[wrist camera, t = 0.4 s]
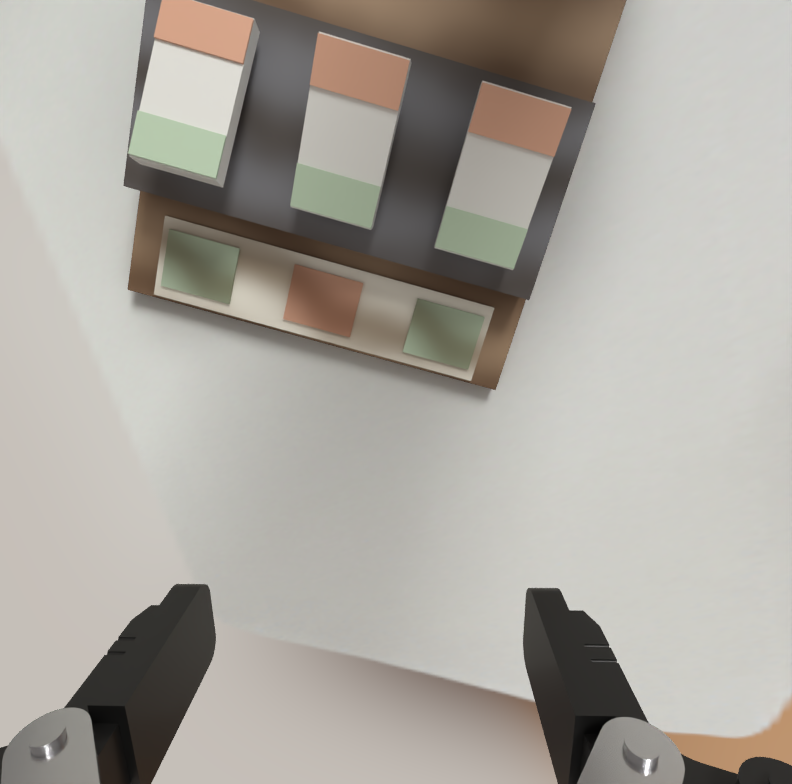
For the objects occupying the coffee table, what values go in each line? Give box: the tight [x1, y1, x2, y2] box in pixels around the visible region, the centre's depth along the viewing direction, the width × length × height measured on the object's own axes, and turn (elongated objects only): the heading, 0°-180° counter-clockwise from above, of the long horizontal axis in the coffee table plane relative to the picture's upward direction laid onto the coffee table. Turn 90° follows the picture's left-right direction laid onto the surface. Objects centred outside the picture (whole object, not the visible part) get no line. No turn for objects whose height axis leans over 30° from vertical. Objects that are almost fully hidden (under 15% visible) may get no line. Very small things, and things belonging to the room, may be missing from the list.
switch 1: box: [128, 0, 260, 188], centre depth 28 cm, size 9×5×1 cm, turn 165°
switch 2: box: [290, 32, 411, 230], centre depth 29 cm, size 9×5×1 cm, turn 165°
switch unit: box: [124, 0, 626, 390], centre depth 32 cm, size 26×28×5 cm
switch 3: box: [434, 81, 572, 270], centre depth 29 cm, size 9×5×1 cm, turn 165°
